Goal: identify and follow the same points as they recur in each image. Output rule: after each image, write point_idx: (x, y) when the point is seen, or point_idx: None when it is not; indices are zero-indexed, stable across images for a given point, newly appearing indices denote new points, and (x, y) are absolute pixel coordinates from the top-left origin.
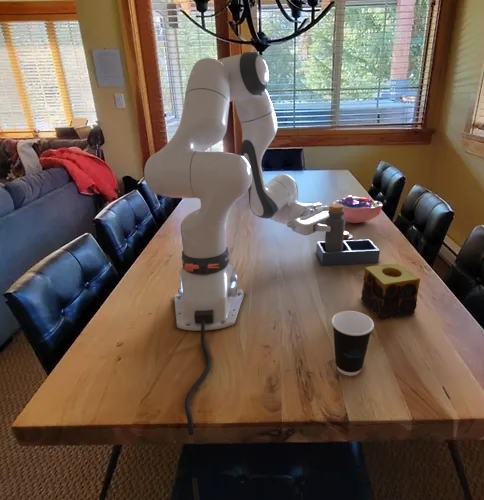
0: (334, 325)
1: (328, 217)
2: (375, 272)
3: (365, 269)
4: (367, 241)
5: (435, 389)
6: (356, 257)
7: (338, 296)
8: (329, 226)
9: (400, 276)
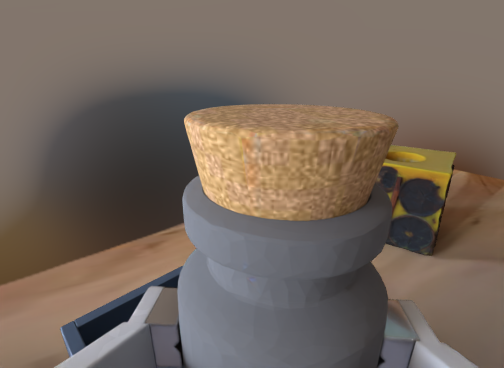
0: None
1: (348, 305)
2: (441, 163)
3: (450, 176)
4: (80, 335)
5: (458, 179)
6: None
7: (485, 297)
8: (404, 301)
9: (399, 150)
